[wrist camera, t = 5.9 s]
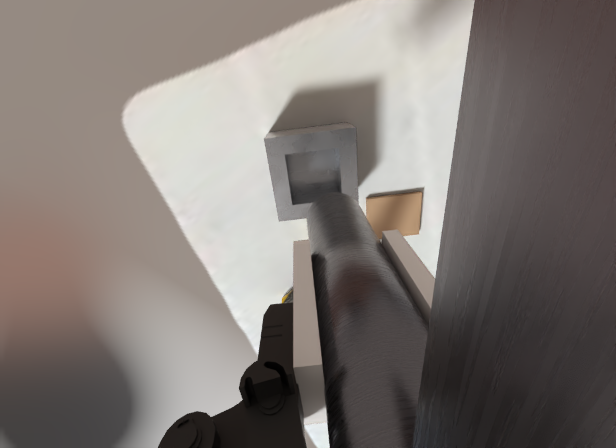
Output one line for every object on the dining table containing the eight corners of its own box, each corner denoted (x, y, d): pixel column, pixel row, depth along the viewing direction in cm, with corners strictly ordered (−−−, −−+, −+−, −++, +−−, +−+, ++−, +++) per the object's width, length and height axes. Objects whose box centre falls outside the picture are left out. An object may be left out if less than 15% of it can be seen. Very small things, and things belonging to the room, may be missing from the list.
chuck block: (347, 122, 30) (355, 127, 26) (352, 242, 37) (360, 263, 33) (268, 132, 30) (263, 138, 26) (289, 250, 37) (288, 271, 33)
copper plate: (420, 191, 34) (422, 192, 34) (417, 232, 37) (418, 234, 36) (366, 197, 34) (367, 199, 34) (366, 238, 37) (367, 240, 37)
